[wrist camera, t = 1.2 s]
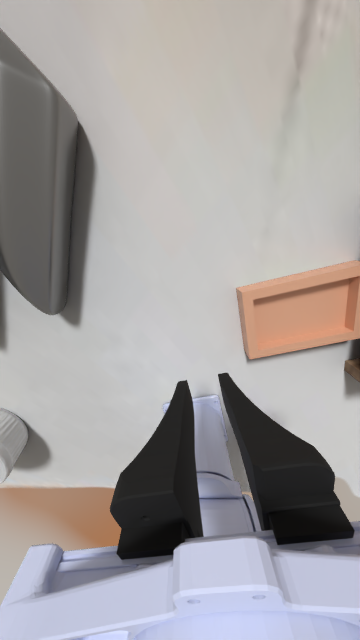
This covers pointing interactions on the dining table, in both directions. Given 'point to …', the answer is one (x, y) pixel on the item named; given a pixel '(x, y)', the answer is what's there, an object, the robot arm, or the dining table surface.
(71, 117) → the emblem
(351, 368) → the wooden block
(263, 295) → the shallow pink tray
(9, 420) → the ramekin
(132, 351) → the dining table surface
